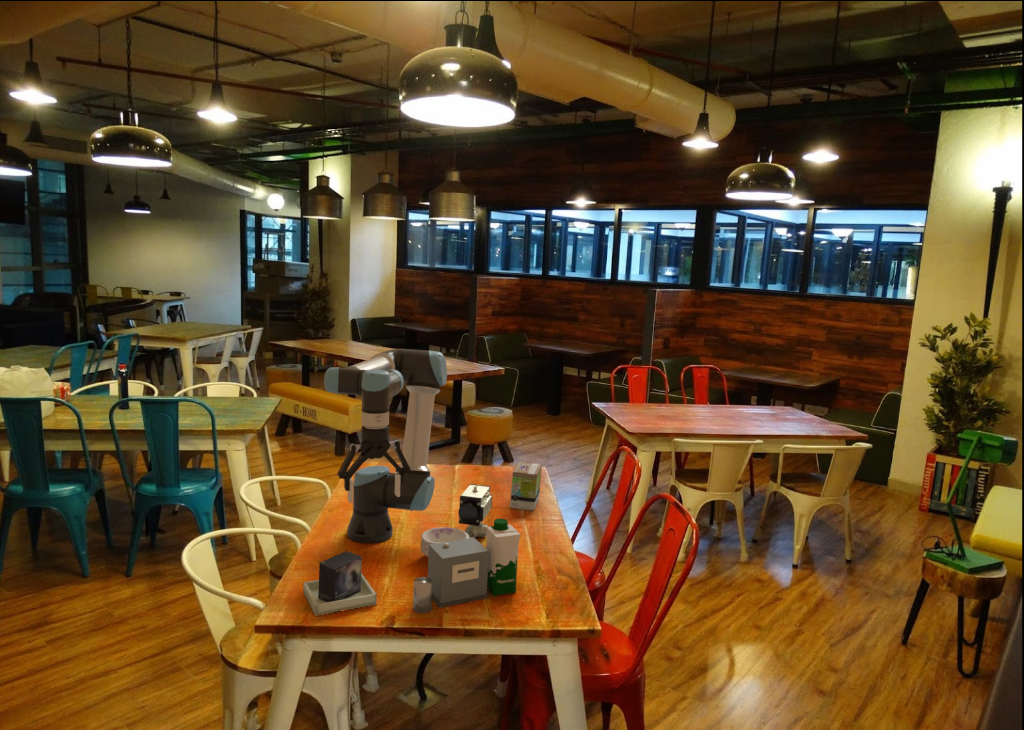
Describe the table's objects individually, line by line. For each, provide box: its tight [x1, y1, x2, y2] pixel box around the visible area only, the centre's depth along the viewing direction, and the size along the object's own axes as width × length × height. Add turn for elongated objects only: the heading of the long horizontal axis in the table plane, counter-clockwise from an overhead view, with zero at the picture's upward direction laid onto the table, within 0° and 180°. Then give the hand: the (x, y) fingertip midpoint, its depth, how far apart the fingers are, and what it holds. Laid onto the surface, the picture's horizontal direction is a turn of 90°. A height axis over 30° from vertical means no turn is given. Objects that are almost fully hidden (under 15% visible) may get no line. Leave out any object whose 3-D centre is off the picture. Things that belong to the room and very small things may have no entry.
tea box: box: [509, 461, 543, 511], centre depth 275 cm, size 15×10×15 cm
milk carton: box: [485, 518, 521, 597], centre depth 202 cm, size 9×9×20 cm
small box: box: [318, 550, 363, 602], centre depth 192 cm, size 11×6×10 cm, turn 148°
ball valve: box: [457, 483, 493, 539], centre depth 240 cm, size 18×8×18 cm, turn 168°
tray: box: [302, 572, 378, 617], centre depth 193 cm, size 14×16×3 cm
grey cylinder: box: [412, 576, 433, 614], centre depth 190 cm, size 5×5×8 cm
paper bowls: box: [420, 527, 470, 559], centre depth 222 cm, size 15×15×8 cm
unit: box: [427, 537, 490, 609], centre depth 198 cm, size 11×15×15 cm
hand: (374, 498), depth 198 cm, fingers open, 13 cm apart
